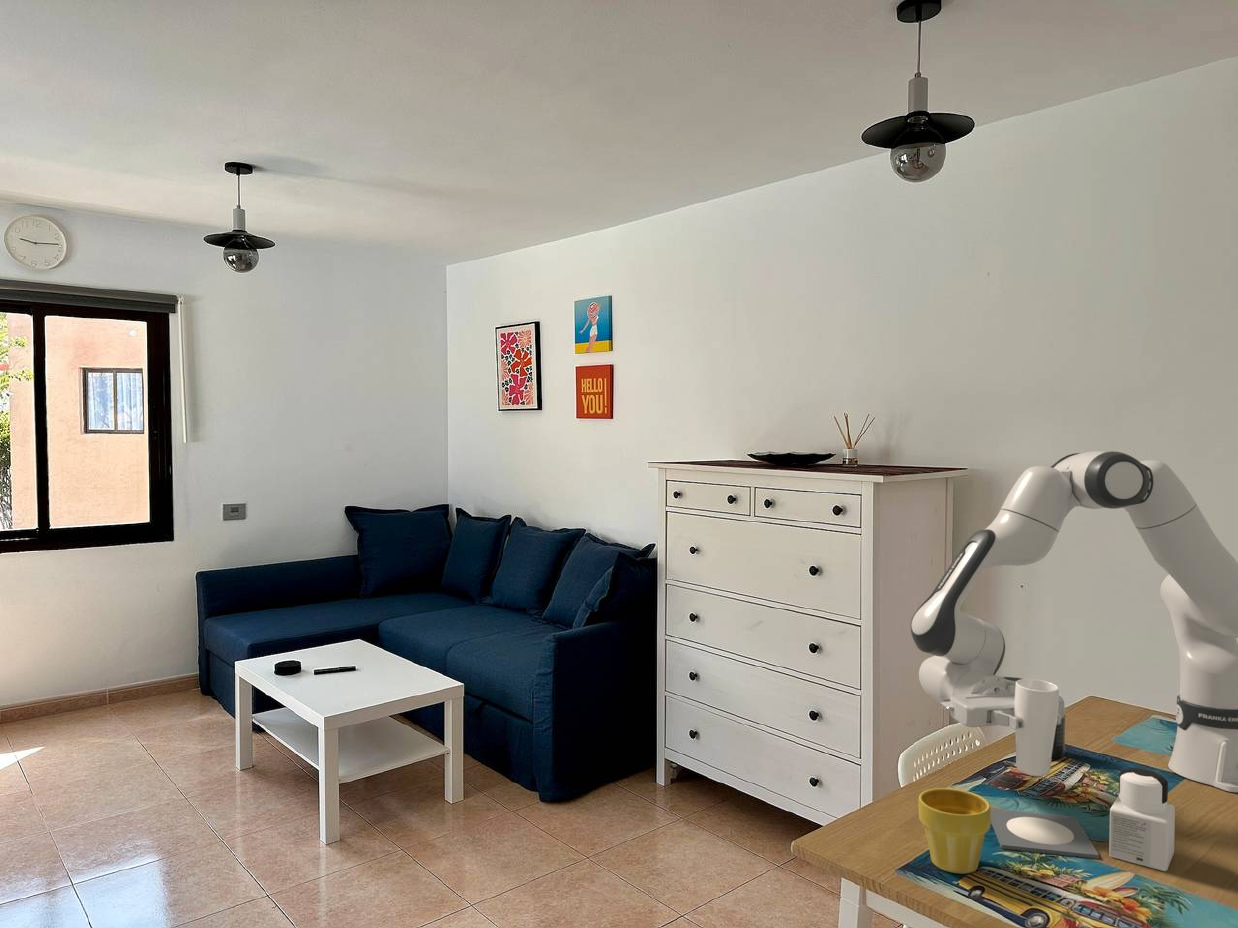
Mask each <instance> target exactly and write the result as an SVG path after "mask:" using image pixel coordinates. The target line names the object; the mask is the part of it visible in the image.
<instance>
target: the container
mask: <svg viewBox="0 0 1238 928" xmlns="http://www.w3.org/2000/svg"><path fill="white" fill-rule="evenodd" d="M1168 790H1169V782H1168V780H1167V779H1166V777H1164V776H1163V775H1161V774H1159V773H1157V772H1156V771H1152V770H1148V769H1144V768H1140V767H1139V768H1137V767H1135V768H1134V767H1133V768H1127V769H1123V770H1121V771H1120V772H1119V773H1118V796H1117V797H1116V798H1115V800H1114V803H1113V804H1112V805H1111V807H1110V809H1109V840H1108V842H1109V846H1108V847H1109V848H1108V849H1109V850H1108V851H1109V852H1108V855H1109V856H1110V857H1111V858H1114V859H1118V860H1121V861H1124V862H1128V863H1132V864H1135V865H1136V864H1137V865H1139V866H1143V867H1147V868H1149V869H1154V870H1158V871H1162V872H1168V869H1169V866H1170V863H1171V861H1172V859H1173V856H1174V854H1175V828H1176V827H1175V824H1176V823H1175V818H1176V814H1175V813H1176V807H1175V806H1174V805H1173V804H1168V802H1169V801H1168V800H1169V799H1168V795H1169V794H1168V793H1169V791H1168Z"/></svg>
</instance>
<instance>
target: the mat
mask: <svg viewBox="0 0 1238 928" xmlns="http://www.w3.org/2000/svg"><path fill="white" fill-rule="evenodd" d="M990 809H991V822H990V824H991V825H992V828H993V830H994V833H995V835H996V838H997V841H998V843H999V845H1000V848H1001V849H1002V850H1005V849H1006V850H1012V851H1013V850H1014V851H1020V852H1021V851H1022V852H1030V853H1040V854H1049V855H1059V856H1067V857H1076V856H1078V858H1088V859H1096V860H1099V859H1100V854H1099V853H1098V851H1097V849H1096V848H1095V845H1094V844H1093V843H1092V842H1091V840H1090V839H1089V837H1088V834H1086V832H1085V830H1084V828H1083V827H1082V826H1081V824H1080V822H1079V821H1078V819H1077V816H1069V815H1060V814H1050V813H1039V812H1028V811H1017V810H1009V809H1000V808H999V809H997V808H990Z"/></svg>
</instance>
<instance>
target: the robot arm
mask: <svg viewBox="0 0 1238 928" xmlns="http://www.w3.org/2000/svg"><path fill="white" fill-rule="evenodd" d="M1075 507H1081V508H1085V509H1091V510H1095V509H1098V510H1099V509H1113V510H1115V509H1122V508H1123V509H1124V510H1125V511H1126V512H1127V513H1128V515H1129V517H1130V519H1131V521H1132V523H1133V525H1134V527H1135V528H1136V529H1137V532H1138V534H1139V535H1140V537H1141V538H1142V540H1143V543H1144V544H1145V546H1146V547H1147V549H1148V552H1149V553H1150V555H1151V556H1152V557H1153V559H1154V561H1155V562H1156V563H1157V564H1158V566H1160V567H1161V568H1162V569H1164V570H1165V571H1166V572H1167V573H1168V574H1167V576H1165V578H1164V579H1163V581H1162V583H1161V585H1160V590H1159V593H1160V599H1161V601H1162V603H1163V605H1164V606H1165V608H1166V610H1167V612H1168V614H1169V617H1170V620H1171V625H1172V627H1173V628H1172V629H1173V632H1174V636H1175V640H1176V645H1177V650H1178V651H1177V652H1178V657H1179V658H1178V659H1179V694H1178V695H1177V696H1176V704H1175V720H1176V723H1175V724H1176V725H1177V729H1176V736H1175V741H1174V746H1173V749H1172V753H1171V756H1170V759H1169V761H1168V764H1167V766H1168V768H1169V769H1170V770H1171V771H1172V772H1174V773H1176V774H1177V775H1179V776H1181V777H1184V778H1186V779H1189V780H1191V781H1195V782H1198V783H1201V784H1205V785H1209V786H1212V787H1215V788H1218V789H1220V790H1223V791H1227V792H1229V793H1238V639H1237V638H1238V560H1237V559H1235V557H1234V556H1233V555H1232V554H1231V553H1230V552H1229V550H1227V548H1226V547H1225V546H1224V544H1222V542H1221V541H1220V540H1219V538H1218V537H1217V535H1216V534H1215V533H1214V531H1213V529H1212V528H1211V526H1210V525H1209V523H1208V521H1207V519H1206V517H1205V516H1204V514H1203V513H1202V511H1201V509H1200V507H1199V506H1198V504H1197V502H1196V501H1195V499H1194V497H1193V496H1192V494H1191V493H1190V491H1189V489H1187V487H1186V486H1185V484H1184V483H1183V482H1182V480H1181V479H1180V478H1179V476H1178V475H1177V474H1176V473H1175V472H1174V471H1173V470H1172V468H1171V467H1170V466H1169V465H1168V464H1166V463H1165V462H1164V461H1161V460H1157V459H1147V460H1141V461H1139V460H1138V459H1136V458H1134V457H1133V456H1131V455H1129V454H1127V453H1125V452H1124V453H1123V452H1121V451H1112V450H1111V451H1105V450H1104V451H1103V450H1089V451H1087V452H1081V453H1080V452H1077V453H1071V454H1068V455H1066V456H1065V455H1064V456H1063V457H1062V458H1060V459H1058V460H1057V461H1055V463H1054V464H1053V465H1051V466H1047V465H1034V466H1031V467H1028V468H1026V469H1025V470H1024V471H1023V472H1022V473H1021V475H1020V476H1019V477H1018V479H1017V480H1016V481H1015V483H1014V484H1013V486H1012V487H1011V489H1010V490H1009V492H1008V494H1007V496H1006V498H1005V499H1004V501H1003V504H1002V505H1001V507H1000V510H999V512H998V514H997V516H996V517H995V518H994V519H993V521H992V522H991V523H990V524H989V525H988V526H987V527H986V528H985V529H979V530H977V531H976V532H974V533H973V534H972V535H971V536H970V537H969V538H968V539H967V541H966V542H965V543H964V544H963V546H962V547H961V549H960V550H959V552H958V553H957V555H955V558H954V559H953V561H952V562H951V563H950V565H949V567H948V568H947V569H946V571H945V572H944V574H943V575H942V577H941V579H940V580H939V582H938V584H937V585H935V588H934V589H933V591H932V592H931V594H930V595H929V596H928V597H927V598H926V600H925V601H924V602H923V603H922V604H921V605H920V606H919V607H918V608H917V610H915V612H914V613H913V615H912V618H911V620H910V633H911V637H912V639H913V642H914V645H915V646H916V648H917V649H919V650H920V651H921V652H924V653H926V654H929V655H933V656H930V657H928V658H926V659H925V660H923V661H922V663H921V665H920V667H919V669H918V670H919V671H918V679H919V683H920V685H921V687H922V689H923V690H924V692H925V693H926V694H927V695H928V696H929V697H931V698H932V699H933V700H935V701H936V702H938V703H939V704H940V708H942V709H944V710H945V711H949V714H950V715H949V716H951V718H952V719H954V720H955V721H957V722H959V723H960V724H962V725H963V726H965V727H969V728H983V727H991V726H1003V727H1009V728H1012V729H1013V730H1015V729H1020V728H1023V719H1022V718H1020V717H1018V716H1015V715H1014V697H1015V686H1016V681H1018V680H1021V679H1024V678H1023V677H1022V678H1021V677H1015V676H1014V677H1012V676H1011V677H1009V676H1001V675H997V673H998V672H999V669H1000V668H1001V666H1002V664H1003V661H1004V658H1005V655H1006V653H1005V652H1006V642H1005V638H1004V635H1003V632H1002V631H1001V629H1000V628H999V627H997V626H995V625H992V624H991V623H989V622H987V621H984V620H982V619H980V618H978V617H974V616H973V615H971V614H968V613H966V612H964V611H963V610H962V611H961V605H962V604H963V602H965V600H966V598H967V596H968V595H969V594H970V592H971V590H972V589H973V587H974V586H975V584H976V583H977V581H978V579H980V577H981V576H982V574H984V572H985V571H987V570H989V569H991V568H993V567H999V566H1000V567H1001V566H1013V567H1014V566H1015V567H1017V566H1027V565H1030V564H1034V563H1037V562H1039V561H1041V560H1042V559H1044V558H1046V556H1047V555H1048V554H1049V552H1050V551H1051V550H1052V548H1053V546H1054V545H1055V542H1056V540H1057V537H1058V534H1059V532H1060V531H1061V529H1062V526H1063V524H1064V521H1065V518H1067V515H1068V514H1069V513H1071V511H1072V510H1073V509H1074V508H1075ZM1064 715H1065V701H1064V698H1063V697H1062V696H1060V695H1059V708H1058V717H1057V724H1056V725H1060V724H1061V719H1062V718H1063V717H1064Z"/></svg>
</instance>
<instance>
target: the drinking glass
mask: <svg viewBox="0 0 1238 928" xmlns="http://www.w3.org/2000/svg"><path fill="white" fill-rule="evenodd" d="M1059 696H1060V688H1059V686H1058V685H1056V684H1054V683H1052V682H1049V681H1046V680H1041V679H1037V678H1023V679H1021V680H1018V681H1016V686H1015V697H1014V715H1015V716H1018V717H1020V718H1022V719H1023V728H1020V729H1014V735H1015V736H1014V737H1015V767H1016V769H1017V770H1018V771H1019V772H1020V773H1023V774H1025V775H1027V776H1028V775H1029V776H1032V777H1033V776H1034V777H1044V776H1048V775H1049V774H1050V772H1051V770H1052V769H1051V766H1052V765H1051V764H1052V759H1051V757H1052V750H1053V743H1054V737H1055V730H1056V724H1057V717H1058V708H1059Z"/></svg>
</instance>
